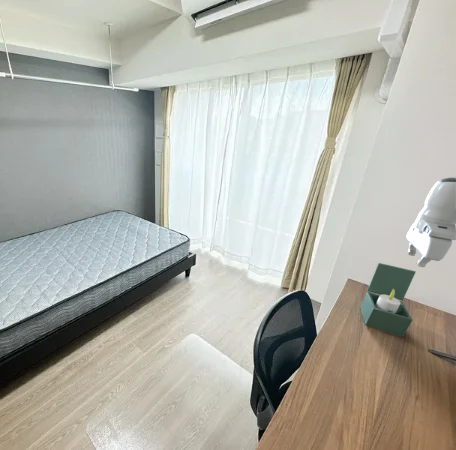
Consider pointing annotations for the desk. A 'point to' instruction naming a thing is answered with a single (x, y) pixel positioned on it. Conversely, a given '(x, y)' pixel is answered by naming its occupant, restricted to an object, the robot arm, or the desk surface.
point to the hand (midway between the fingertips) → (415, 260)
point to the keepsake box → (384, 316)
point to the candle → (388, 302)
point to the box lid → (391, 280)
